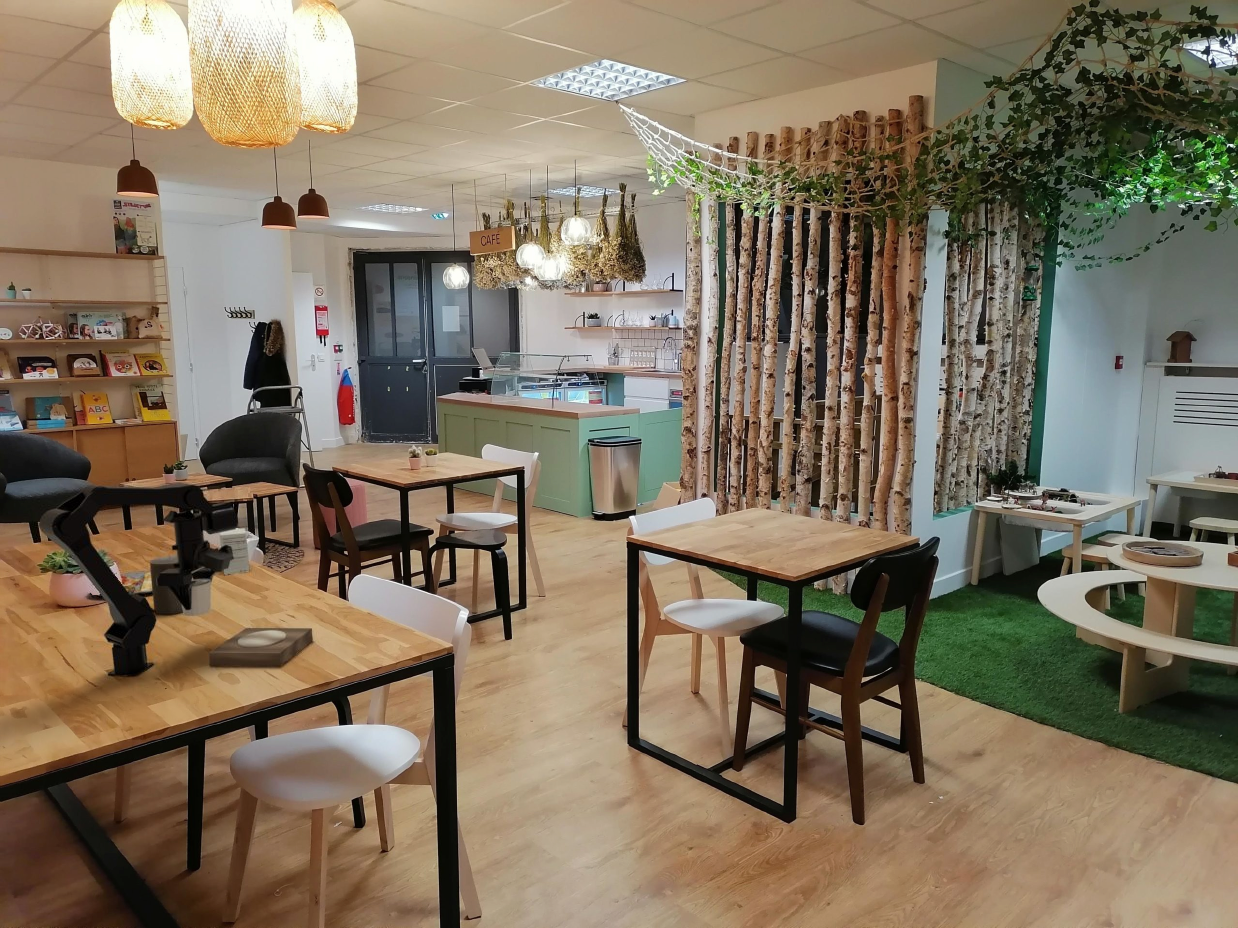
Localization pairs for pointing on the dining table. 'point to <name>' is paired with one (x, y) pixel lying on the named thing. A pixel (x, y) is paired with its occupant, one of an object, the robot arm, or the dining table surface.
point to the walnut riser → (261, 647)
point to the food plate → (137, 582)
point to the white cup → (200, 598)
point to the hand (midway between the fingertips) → (196, 605)
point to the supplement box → (236, 550)
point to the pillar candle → (164, 587)
